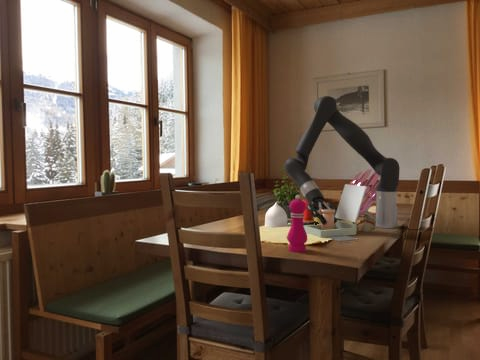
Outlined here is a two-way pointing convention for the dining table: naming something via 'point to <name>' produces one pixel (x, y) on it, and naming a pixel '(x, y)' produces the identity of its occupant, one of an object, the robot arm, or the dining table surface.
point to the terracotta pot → (328, 219)
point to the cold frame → (343, 214)
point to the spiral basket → (367, 189)
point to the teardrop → (276, 217)
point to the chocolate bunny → (368, 222)
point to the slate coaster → (342, 238)
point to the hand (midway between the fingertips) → (330, 223)
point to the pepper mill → (297, 226)
